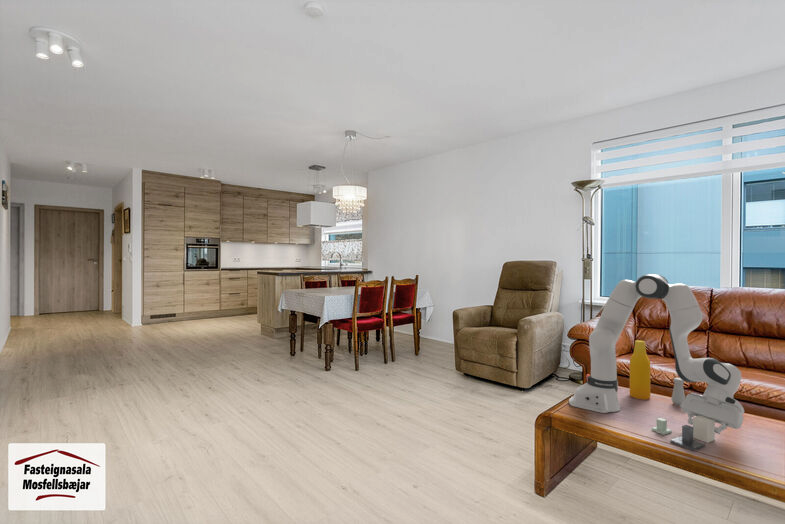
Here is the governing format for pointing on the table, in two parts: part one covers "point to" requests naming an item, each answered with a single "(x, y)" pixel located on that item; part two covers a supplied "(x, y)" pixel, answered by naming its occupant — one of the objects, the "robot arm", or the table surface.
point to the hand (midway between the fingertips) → (702, 427)
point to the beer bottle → (640, 372)
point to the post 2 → (687, 439)
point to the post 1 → (662, 427)
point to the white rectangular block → (703, 428)
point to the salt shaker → (678, 392)
